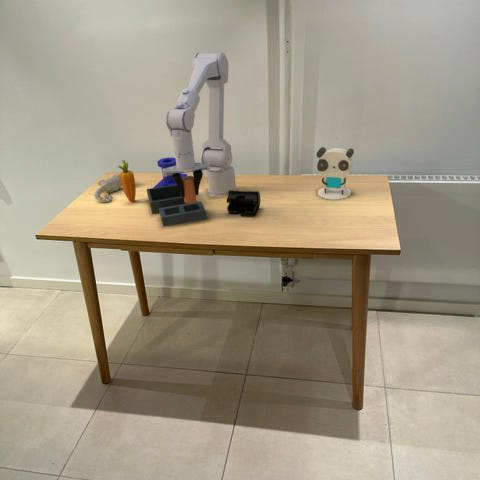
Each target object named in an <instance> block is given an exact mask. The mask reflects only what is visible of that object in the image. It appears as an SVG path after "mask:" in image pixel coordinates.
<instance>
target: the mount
mask: <svg viewBox="0 0 480 480" xmlns="http://www.w3.org/2000/svg"><path fill="white" fill-rule="evenodd" d="M156 164H157V167H159V168H161V174H162V175H161V176H162V179H161V180H160V181H158V183H156V185H154V186H153V187H152V188H157V187H163V186H170V185H176V184H177V183H176V182H175V180H174V179H173V176H172V175H168V176H167V177H164V176H163V171H162V169H164V168H168V167H172V166H176V158H175V157H163V158H160V159H158V160H157V163H156ZM180 175H181V178H182V177H185V176H188V173H182V174H180Z"/></svg>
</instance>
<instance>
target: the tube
mask: <svg viewBox="0 0 480 480" xmlns="http://www.w3.org/2000/svg"><path fill="white" fill-rule="evenodd" d="M182 186H183V192H184V202H185V203H195V202H198V198H197V197H198V196H197V195H196V189H195V181H194V177H193V175H187V176H185V177H182Z"/></svg>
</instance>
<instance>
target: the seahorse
mask: <svg viewBox="0 0 480 480" xmlns="http://www.w3.org/2000/svg"><path fill="white" fill-rule="evenodd" d="M134 180H136V179H135V178H134ZM97 185H98V186H99V188H97V189H96V190H95V193H94V198H95V200H97V201H98V202H102V203H109V202H111V201H112V200H113V196H112V195H111V193H113V192H118V191H119V190H120V189H121V187H122V184H121V180H120V173H117V174H115V175H113V176H111V177H108V178H107V179H101V180H99V181H98V183H97ZM102 193H103V194H104V193H105V195H104V197H102V196H101V194H102Z"/></svg>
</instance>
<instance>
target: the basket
mask: <svg viewBox="0 0 480 480" xmlns="http://www.w3.org/2000/svg"><path fill="white" fill-rule="evenodd" d="M146 193H147V199H148V203H149V207H150V210H151V215H156V214H157V215H158V214H160V213H159V208H163V207H169V206H175V205H181V204H187V203H185V202H184V197H182V196H181V192H180V189H179V187H178V185H177V184H176V185H170V186H163V187H157V188H153V187H151V188H150V187H149V188H146Z"/></svg>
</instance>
